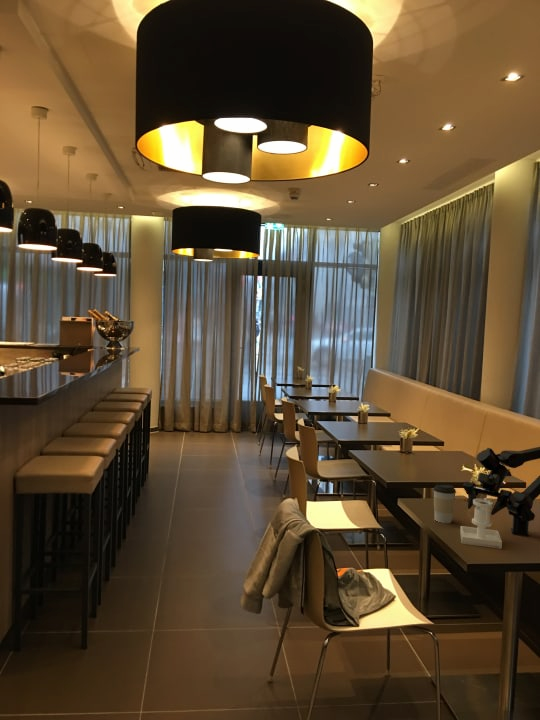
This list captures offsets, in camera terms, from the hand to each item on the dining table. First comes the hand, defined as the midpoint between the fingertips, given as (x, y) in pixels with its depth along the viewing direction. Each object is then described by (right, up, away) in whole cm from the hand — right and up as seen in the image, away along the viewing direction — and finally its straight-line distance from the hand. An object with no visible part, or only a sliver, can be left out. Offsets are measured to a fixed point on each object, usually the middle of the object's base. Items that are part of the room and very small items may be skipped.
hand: (479, 511), depth 216 cm
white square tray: (+1, -11, +1) cm, 11 cm away
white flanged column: (+1, -10, +1) cm, 10 cm away
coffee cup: (-7, -10, +24) cm, 27 cm away
